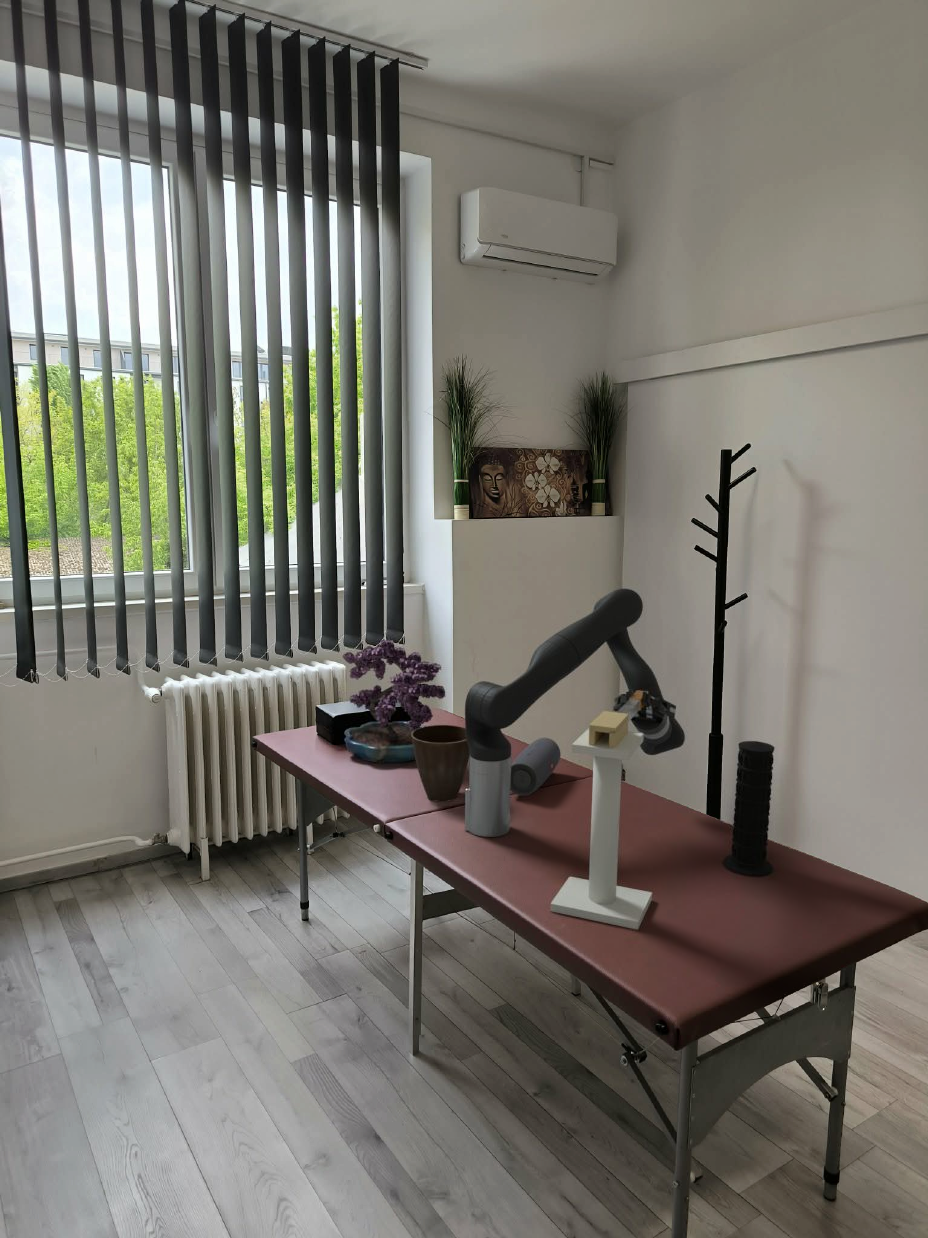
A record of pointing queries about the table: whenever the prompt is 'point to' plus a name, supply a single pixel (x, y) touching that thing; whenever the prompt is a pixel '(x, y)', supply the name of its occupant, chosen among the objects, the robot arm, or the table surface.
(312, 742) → the table surface
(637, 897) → the stand
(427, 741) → the plant pot
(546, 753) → the bluetooth speaker
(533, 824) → the table surface
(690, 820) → the table surface
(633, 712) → the grey orange square rod
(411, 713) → the bonsai tree
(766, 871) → the handle grip
